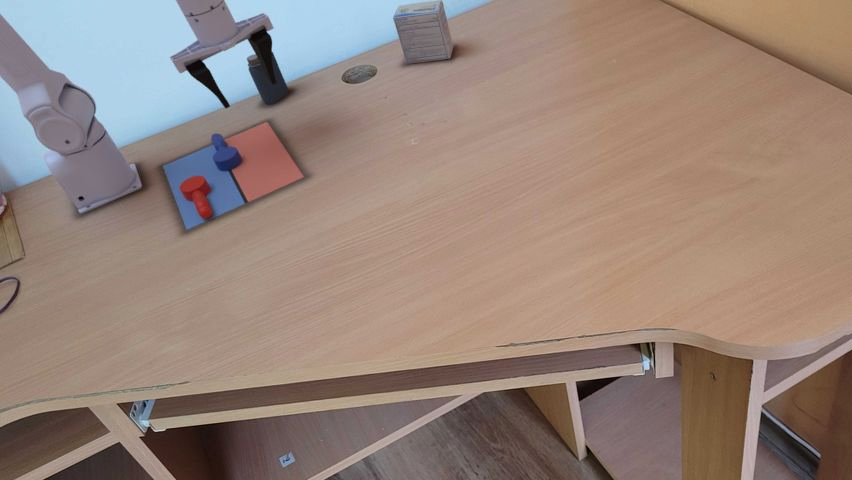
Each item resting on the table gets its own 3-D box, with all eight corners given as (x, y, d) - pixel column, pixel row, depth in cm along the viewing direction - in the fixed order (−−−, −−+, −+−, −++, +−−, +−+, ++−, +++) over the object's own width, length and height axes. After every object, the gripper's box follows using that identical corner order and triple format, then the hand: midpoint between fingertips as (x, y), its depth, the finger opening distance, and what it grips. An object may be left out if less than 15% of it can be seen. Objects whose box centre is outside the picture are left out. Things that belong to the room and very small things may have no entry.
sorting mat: (187, 230, 98) (186, 229, 98) (163, 167, 112) (162, 165, 112) (304, 177, 103) (303, 176, 103) (267, 122, 116) (266, 121, 116)
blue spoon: (207, 146, 114) (201, 136, 112) (229, 136, 115) (224, 127, 113) (220, 174, 107) (215, 164, 106) (244, 164, 108) (239, 154, 107)
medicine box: (454, 47, 124) (442, -2, 118) (450, 60, 121) (438, 10, 115) (410, 52, 125) (397, 4, 119) (406, 65, 122) (392, 16, 116)
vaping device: (292, 90, 123) (264, 24, 114) (271, 106, 120) (241, 40, 112) (282, 88, 124) (253, 23, 116) (261, 104, 121) (230, 38, 113)
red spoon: (222, 214, 99) (216, 204, 98) (196, 226, 98) (190, 216, 97) (207, 181, 106) (202, 172, 105) (183, 192, 105) (177, 182, 104)
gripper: (160, 37, 92) (212, 125, 101) (261, -10, 96) (302, 79, 105) (148, 23, 96) (199, 108, 106) (244, -21, 100) (285, 65, 110)
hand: (249, 93), depth 106 cm, fingers open, 7 cm apart
